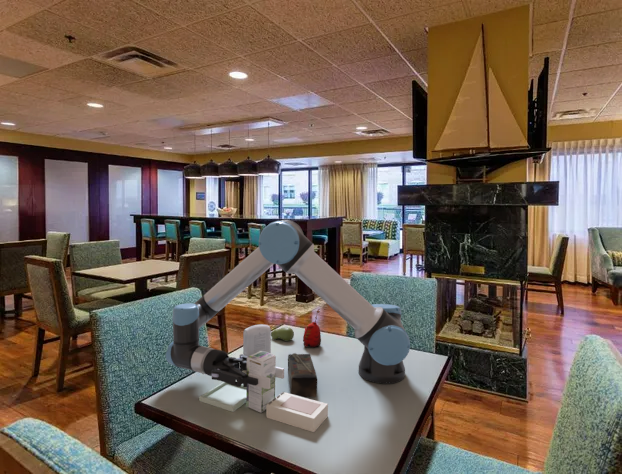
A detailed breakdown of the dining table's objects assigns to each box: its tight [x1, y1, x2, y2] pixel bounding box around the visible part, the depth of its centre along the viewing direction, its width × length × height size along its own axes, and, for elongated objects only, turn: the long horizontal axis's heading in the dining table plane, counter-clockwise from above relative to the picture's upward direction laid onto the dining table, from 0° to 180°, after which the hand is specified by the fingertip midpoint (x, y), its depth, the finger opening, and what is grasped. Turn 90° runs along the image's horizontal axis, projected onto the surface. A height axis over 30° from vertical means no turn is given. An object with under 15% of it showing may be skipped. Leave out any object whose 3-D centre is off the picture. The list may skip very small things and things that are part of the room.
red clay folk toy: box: [302, 308, 322, 348], centre depth 153 cm, size 8×7×15 cm
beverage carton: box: [287, 352, 318, 398], centre depth 122 cm, size 8×19×7 cm, turn 6°
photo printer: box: [242, 323, 272, 356], centre depth 140 cm, size 10×4×12 cm, turn 123°
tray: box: [198, 382, 247, 413], centre depth 113 cm, size 12×12×1 cm
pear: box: [271, 327, 295, 342], centre depth 160 cm, size 6×5×10 cm
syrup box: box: [245, 351, 277, 414], centre depth 107 cm, size 6×6×14 cm
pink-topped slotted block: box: [265, 391, 329, 433], centre depth 102 cm, size 14×8×4 cm, turn 62°
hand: (276, 378), depth 104 cm, fingers closed on syrup box, 6 cm apart
